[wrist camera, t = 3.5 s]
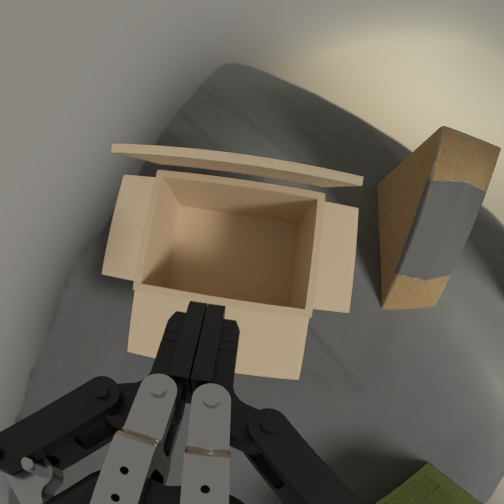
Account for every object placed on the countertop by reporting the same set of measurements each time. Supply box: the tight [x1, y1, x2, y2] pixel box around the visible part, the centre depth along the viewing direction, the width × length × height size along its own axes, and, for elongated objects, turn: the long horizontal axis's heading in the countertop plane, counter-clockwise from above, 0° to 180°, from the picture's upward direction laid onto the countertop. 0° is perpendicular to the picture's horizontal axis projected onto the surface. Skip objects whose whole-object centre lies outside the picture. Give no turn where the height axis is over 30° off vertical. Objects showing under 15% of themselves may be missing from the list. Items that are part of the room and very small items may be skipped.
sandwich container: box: [377, 126, 501, 309], centre depth 25 cm, size 9×15×15 cm, turn 178°
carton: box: [102, 170, 359, 380], centre depth 27 cm, size 20×15×9 cm
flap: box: [111, 143, 364, 187], centre depth 19 cm, size 14×9×1 cm
